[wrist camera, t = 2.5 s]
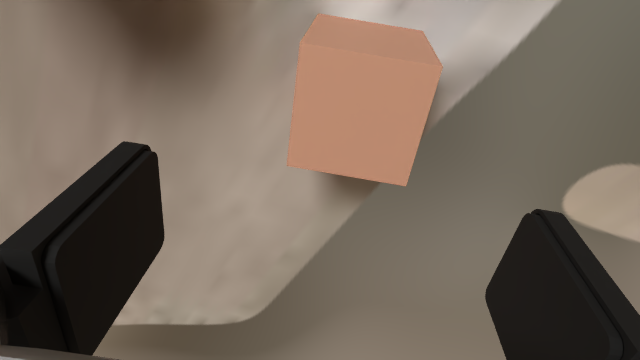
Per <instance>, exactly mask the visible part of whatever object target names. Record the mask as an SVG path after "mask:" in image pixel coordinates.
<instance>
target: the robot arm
mask: <svg viewBox="0 0 640 360" xmlns="http://www.w3.org/2000/svg"><path fill="white" fill-rule="evenodd" d="M163 241H164V225H163V214H162V202H161V190H160V179H159V167H158V157H157V154H156V153H155V152H152V151H151V149H150V147H149V146H148V145H144V144H138V143H132V142H125V141H124V142H122V143H120V144H119V145H118V146H117V147H116V148H114V149H113V150H112V151H111V152H110V153H109V154H107V155H106V156H105V157H104V158H103V159H101V160H100V161H99V162H98V163H97V164H96V165H94V166H93V167H92V168H91V169H90V170H88V171H87V172H86V173H85V174H84V175H83V176H81V177H80V178H79V179H78V180H77V181H75V182H74V183H73V184H72V185H71V186H69V187H68V188H67V189H66V190H65V191H64V192H62V193H61V194H60V195H59V196H58V197H56V198H55V199H54V200H53V201H52V202H51V203H49V204H48V205H47V206H46V207H45V208H43V209H42V210H41V211H40V212H39V213H38V214H36V215H35V216H34V217H33V218H32V219H30V220H29V221H28V222H27V223H26V224H25V225H23V226H22V227H21V228H20V229H19V230H17V231H16V232H15V233H14V234H13V235H11V236H10V237H9V238H8V239H7V240H6V241H4V242H3V243H2V244H1V245H0V360H119V359H112V358H105V357H97V356H92V355H93V353H94V352H95V350H96V349H97V347H98V345H99V344H100V342H101V341H102V339H103V338H104V336H105V335H106V333H107V331H108V330H109V328H110V327H111V325H112V324H113V322H114V321H115V319H116V318H117V316H118V314H119V313H120V311H121V310H122V308H123V307H124V305H125V304H126V302H127V300H128V299H129V297H130V296H131V294H132V293H133V291H134V290H135V288H136V287H137V285H138V283H139V282H140V280H141V279H142V277H143V276H144V274H145V273H146V271H147V269H148V268H149V266H150V265H151V263H152V262H153V260H154V259H155V257H156V255H157V254H158V252H159V251H160V249H161V247H162V245H163ZM485 297H486V303H487V306H488V309H489V311H490V314H491V317H492V320H493V322H494V325H495V328H496V331H497V334H498V336H499V339H500V342H501V345H502V348H503V351H504V354H505V356H506V359H507V360H640V315H639V314H638V313H637V311H636V310H635V309H634V307H633V306H632V305H631V303H630V302H629V301H628V299H627V298H626V297H625V295H624V294H623V293H622V291H621V290H620V289H619V287H618V286H617V285H616V283H615V282H614V281H613V280H612V278H611V277H610V276H609V274H608V273H607V272H606V270H605V269H604V268H603V266H602V265H601V264H600V262H599V261H598V260H597V258H596V257H595V256H594V254H593V253H592V252H591V250H590V249H589V248H588V246H587V245H586V244H585V242H584V241H583V240H582V238H581V237H580V236H579V235H578V233H577V232H576V230H575V229H574V228H573V226H572V225H571V224H570V223H569V221H568V220H567V219H566V217H565V216H564V215H563V214H562V213H559V212H552V211H547V210H541V209H536V210H534V211H532V212H531V214H530V213H528V214H526V215H525V216H524V217H523V218H522V220H521V222H520V224H519V226H518V228H517V230H516V232H515V234H514V236H513V238H512V240H511V242H510V244H509V246H508V248H507V250H506V251H505V254H504V255H503V258H502V260H501V261H500V263H499V265H498V267H497V269H496V271H495V273H494V275H493V277H492V279H491V281H490V283H489V285H488V287H487V289H486V296H485Z"/></svg>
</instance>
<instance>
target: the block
mask: <svg viewBox="0 0 640 360" xmlns="http://www.w3.org/2000/svg"><path fill="white" fill-rule="evenodd" d="M442 68H443V66H442V64H441V62H440V61H439V59H438V57H437V55H436V54H435V52H434V50H433V48H432V47H431V45H430V43H429V41H428V39H427V38H426V36H425V34H424V32H423V31H420V30H414V29H408V28H402V27H396V26H390V25H384V24H378V23H372V22H366V21H360V20H354V19H348V18H342V17H336V16H330V15H324V14H318V15H317V16H316V18H315V20H314V21H313V23H312V24H311V26H310V27H309V29H308V31H307V32H306V34H305V35H304V37H303V39H302V40H301V42H300V47H299V56H298V66H297V75H296V84H295V93H294V103H293V112H292V121H291V130H290V139H289V149H288V158H287V166H291V167H297V168H302V169H308V170H314V171H320V172H326V173H331V174H337V175H343V176H349V177H354V178H360V179H366V180H372V181H377V182H383V183H389V184H395V185H401V186H406V185H407V182H408V179H409V175H410V172H411V169H412V165H413V162H414V159H415V156H416V152H417V149H418V146H419V143H420V140H421V136H422V133H423V130H424V127H425V123H426V120H427V117H428V114H429V110H430V107H431V104H432V101H433V97H434V94H435V91H436V88H437V84H438V81H439V78H440V75H441V71H442Z"/></svg>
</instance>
